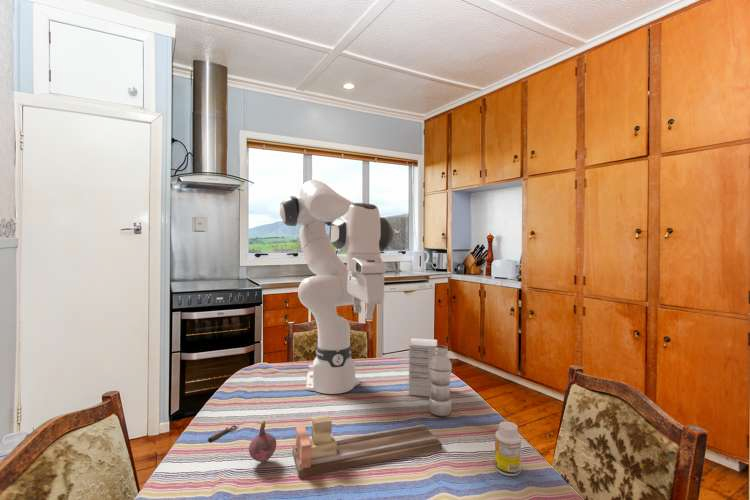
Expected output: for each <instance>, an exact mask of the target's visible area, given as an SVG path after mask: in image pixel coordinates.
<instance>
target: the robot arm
mask: <svg viewBox="0 0 750 500" xmlns="http://www.w3.org/2000/svg"><path fill="white" fill-rule="evenodd" d="M279 206H280V207H279V216H280V219H282V220H281V221H282V222H283V224H285V226H289V227H297V226H301V228H300V230H299V232H298V233H299V243H300V247H301V250H302V253H303V256H304V259H305V261H306V264H307V267H308V268H309V269H308V270H310V272H312V273H313V274H314V275H313V276H309V277H306V278H303V279H302V280H301V282H300V284H299V286H298V288H297V289H298V290H297V296H298V300H299V301H300V303H301V304H302V305H303V306H304V307H305V308H306V309H308V310H309V311H310V312H311V314H312V315H313V317H314V320H315V322H316V328H317V330H316V331H317V345H316V349H315V357H314V359H313V361H312V364H309V365H308V372H307V373H306V374H307V375H306V386H305V387H306V388H305V389H306V390H307V391H311V392H312V391H313V392H317V393H321V394H324V395H325V394H327V395H337V394H343V393H347V392H349V391H351V390H353V389H354V387H356V386H358V385H359V384H360V382H361V381H360V380H359V379H358V378H356V377H357V376H356V361H355V360H354V359H353V358H352V346H351V325H350V322H348V320H347V319H346V318H344V316H343V317H342V316H340V315H338V312H337V307H341V306H351V305H352V306H353V312H354V313H356V314H360V313H362V304H361V302H364V303H365V312H364V319H365V320H367V321H372V320H373V319H374V316H373V315H374V312H375V308H376V305H381V304H382V303H383V300H384V290H385V276H384V274H386V272H387V271H386V270H387V266H386V264H385V263H384V262H383V260H382V258H381V252H384V251H385V250H386V249H387V248H388V247H389V246H390V245H391V244H392V243H391V242H392V241H393V238H394V231H393V227H392V225H391V224H390V222H389V221H388V220H387V219H386V218H385V217H383V216H382V217H381V216H380V211H379V208H378V206H377V205H375V204H373V203H366V202H363V203H362V202H354V201H353V202H352V201H351V200H349V199H347V198H346V197H344V196H342V195H341V194H339V193H337V192H336V191H335V190H333V189H332V188H331V187H330V186H329V185H328V184H326V183H324V182H323V181H321V180H317V179H309V180H306V181H305V182H304V183H303V184H302V186H301V187H300V190H299V195H293V194H292V195H290V196H289V197H287V198H284V199H283V200H282V201H281V202H280V205H279ZM326 226H330V227H329V234H328V233H327V230H326ZM335 249H337V250H340V251H347V252H346V264H345V263H344V262H343V261H342V260H341V258H340V257H339V256H338V254H337V252H336V250H335Z"/></svg>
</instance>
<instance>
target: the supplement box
mask: <svg viewBox="0 0 750 500" xmlns="http://www.w3.org/2000/svg"><path fill="white" fill-rule="evenodd" d="M435 346H438V339H430V338H414V337H413V338H411V341H410V343H409V345H408V347H409V349H408V351H409V352H408V353H409V354H408V395H409V396H417V397H418V396H419V397H428V398H430V393H431V375H430V367H429V363H430V361H431V359H432V358H433V357H434V355H435V353H434V351H435Z"/></svg>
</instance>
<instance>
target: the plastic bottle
mask: <svg viewBox="0 0 750 500" xmlns="http://www.w3.org/2000/svg"><path fill="white" fill-rule="evenodd" d="M448 350H449V349H448V347H447V346H446V345H437V346H435V351H434V353H435V355H434V357H433V358H432V359H431V361H430V363H429V367H430V375H431V393H430V397H429V398H428V399H429V401H428V409H429V411H430V413H431V414H432V415H433V416H436V417H437V416H438V417H446V416H449V414H450V413H451V412H452V400H451V390H450V383H451V375H452V368H453V367H452V366H453V364H452V362H451V360H450V358H449V357H448V353H449V352H448Z"/></svg>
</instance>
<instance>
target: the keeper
mask: <svg viewBox="0 0 750 500" xmlns="http://www.w3.org/2000/svg"><path fill="white" fill-rule="evenodd" d="M308 438H309V440H310V443H311V459H316V458H321V457H327V456H332V455H337V443H336V441H335V439H336V438H335V437H334V435H333V433H332V418H331V417H330V415H329V414H326V415H325V414H324V415H319V416H318V415H317V416H313V417H311V436H308Z"/></svg>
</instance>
